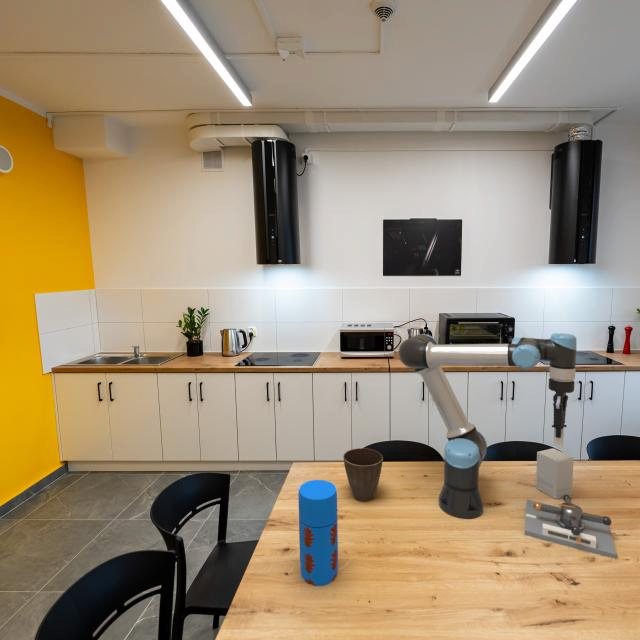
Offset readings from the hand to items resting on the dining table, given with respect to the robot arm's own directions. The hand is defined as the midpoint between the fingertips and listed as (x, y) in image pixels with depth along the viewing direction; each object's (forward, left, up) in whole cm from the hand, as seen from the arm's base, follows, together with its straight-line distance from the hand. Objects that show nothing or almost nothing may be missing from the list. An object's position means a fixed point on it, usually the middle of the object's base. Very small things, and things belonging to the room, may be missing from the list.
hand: (558, 445), depth 137 cm
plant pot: (-64, -22, -25) cm, 72 cm away
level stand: (+3, -9, -24) cm, 26 cm away
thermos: (-60, -64, -25) cm, 91 cm away
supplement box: (0, +15, -25) cm, 29 cm away
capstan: (+4, -10, -23) cm, 25 cm away
